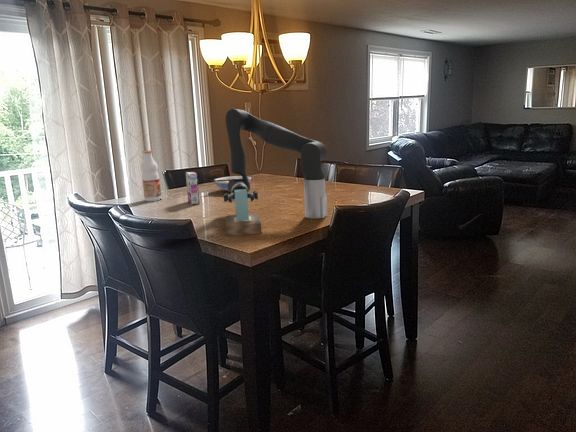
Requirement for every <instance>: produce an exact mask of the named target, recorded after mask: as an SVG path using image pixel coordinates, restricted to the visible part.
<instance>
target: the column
mask: <svg viewBox="0 0 576 432" xmlns="http://www.w3.org/2000/svg"><path fill="white" fill-rule="evenodd" d="M234 192H235V201H234V203H235V204H234V206H235V215H236V219H237V221H240V220H249V214H250V213H249V202H248V201H249V200H248V199H247V189H239V190H234Z"/></svg>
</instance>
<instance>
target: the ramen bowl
mask: <svg viewBox="0 0 576 432" xmlns="http://www.w3.org/2000/svg"><path fill="white" fill-rule="evenodd" d="M247 177H248V180H249V183H250V182H251V181H252V177H251V176H247ZM231 179H243V178H242V176H241V175H239V176H238V175H233V176H224V177H218V178H214V179H210V180H209V182H213V183H215V185H216V186H217V187H218V188H219V189H221V190H223V191H226V192H228V193H230V192H229V190H228V182H229V181H230V180H231Z"/></svg>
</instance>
